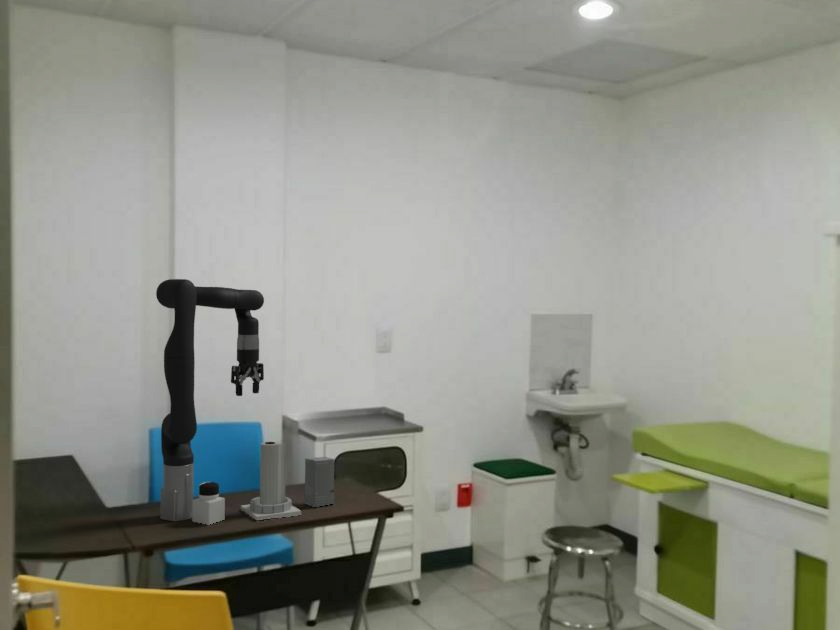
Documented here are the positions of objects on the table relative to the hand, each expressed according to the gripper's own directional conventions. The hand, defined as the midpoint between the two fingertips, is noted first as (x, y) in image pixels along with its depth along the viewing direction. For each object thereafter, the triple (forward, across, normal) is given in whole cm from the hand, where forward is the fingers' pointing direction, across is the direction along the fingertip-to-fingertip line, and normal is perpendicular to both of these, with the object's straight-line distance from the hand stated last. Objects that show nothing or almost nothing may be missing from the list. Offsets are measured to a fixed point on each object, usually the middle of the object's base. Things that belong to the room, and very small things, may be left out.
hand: (247, 394), depth 287 cm
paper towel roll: (+35, +10, +19) cm, 41 cm away
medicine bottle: (+36, +28, +9) cm, 47 cm away
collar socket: (+36, +10, +19) cm, 42 cm away
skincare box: (+36, -7, +26) cm, 45 cm away
